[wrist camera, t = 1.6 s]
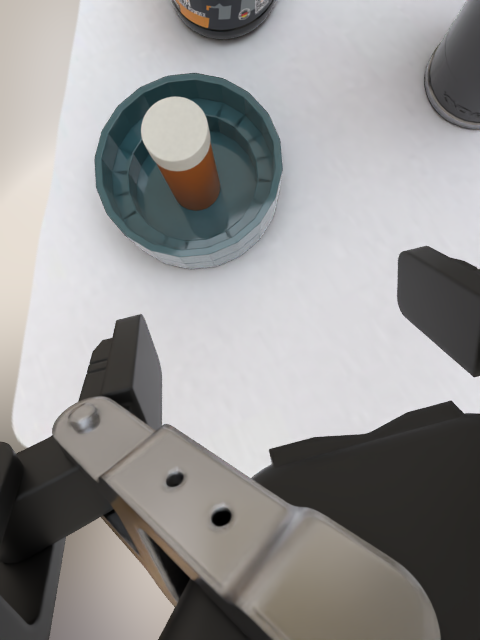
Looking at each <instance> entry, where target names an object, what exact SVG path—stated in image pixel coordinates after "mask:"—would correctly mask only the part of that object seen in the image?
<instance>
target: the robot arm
mask: <svg viewBox="0 0 480 640" xmlns="http://www.w3.org/2000/svg"><path fill="white" fill-rule="evenodd" d="M425 89H426V93H427V96H428V98H429V101H430V102H431V104H432V106H433V107H434V109H435V110H436V111H437V112H438V113H439V114H440V115H441V116H442V117H443V118H445V119H446V120H448V121H449V122H451V123H453V124H455V125H458V126H461V127H464V128H470V129H480V0H466V2H465V4H464V5H463V7H462V9H461V10H460V12H459V14H458V15H457V17H456V19H455V20H454V22H453V23H452V25H451V27H450V28H449V30H448V32H447V33H446V35H445V37H444V38H443V40H442V42H441V43H440V44H439V45H438V47H437V48H436V50H435V51H434V53H433V54H432V56H431V58H430V60H429V62H428V64H427V67H426V71H425ZM397 300H398V305H399V308H400V311H401V312H402V314H403V315H404V316H405V317H406V318H407V319H408V320H409V321H410V322H411V323H412V324H414V325H415V326H416V327H417V328H418V329H419V330H420V331H422V332H423V333H424V334H425V335H426V336H427V337H428V338H430V339H431V340H432V341H433V342H434V343H435V344H436V345H438V346H439V347H440V348H441V349H442V350H443V351H444V352H446V353H447V354H448V355H449V356H450V357H451V358H452V359H454V360H455V361H456V362H457V363H458V364H459V365H461V366H462V367H463V368H464V369H465V370H466V371H467V372H469V373H470V374H471V375H472V376H473V377H477V376H480V269H477V267H475V266H473V265H471V264H469V263H467V262H465V261H462V260H458V259H454V258H450V257H448V256H446V255H444V254H442V253H440V252H438V251H436V250H434V249H433V248H431V247H429V246H424V247H420V248H415V249H411V250H407V251H403V252H401V253H400V255H399V258H398V288H397ZM52 434H53V435H52V436H51V437H49V438H47V439H45V440H43V441H41V442H39V443H37V444H35V445H33V446H31V447H29V448H27V449H25V450H23V451H21V452H18V453H17V454H16V453H15V452H14V450H13V449H12V448H11V446H10V445H9V444H7V443H5V442H0V640H49V636H50V630H51V624H52V617H53V612H54V606H55V600H56V594H57V588H58V581H59V575H60V569H61V564H62V557H63V551H64V545H65V539H66V536H68V535H70V534H71V533H73V532H75V531H77V530H78V529H80V528H82V527H84V526H85V525H87V524H89V523H91V522H92V521H94V520H96V519H97V518H99V517H101V518H102V519H103V520H104V521H105V523H106V524H107V525H108V526H109V527H110V528H111V529H112V531H113V532H114V533H115V534H116V535H117V536H118V537H119V539H120V540H121V541H122V542H123V543H124V544H125V545H126V546H127V548H128V549H129V550H130V551H131V552H132V553H133V554H134V556H135V557H136V558H137V559H138V560H139V561H140V562H141V563H142V565H143V566H144V567H145V568H146V570H147V571H148V572H149V574H150V575H151V576H152V578H153V579H154V581H155V582H156V584H157V585H158V587H159V588H160V589H161V591H162V592H163V593H164V595H165V596H166V597H167V598H168V600H169V601H170V602H171V603H172V604H173V605H174V607H175V609H174V611H173V613H172V614H171V616H170V618H169V620H168V622H167V624H166V626H165V628H164V630H163V632H162V633H161V635H160V637H159V639H158V640H480V414H473V413H465V414H464V413H463V412H462V411H461V410H460V409H459V408H458V407H457V406H456V405H455V404H454V403H453V402H452V401H448V402H444V403H441V404H437V405H433V406H429V407H426V408H422V409H418V410H414V411H411V412H407V413H405V414H404V415H402V416H400V417H398V418H396V419H394V420H392V421H391V422H389V423H387V424H385V425H383V426H381V427H379V428H378V429H376V430H374V431H372V432H370V433H367V434H360V435H343V436H326V437H313V438H310V439H306V440H302V441H298V442H295V443H291V444H287V445H283V446H280V447H276V448H272V449H269V452H270V457H271V462H272V465H270V466H268V467H266V468H264V469H263V470H262V471H260V472H259V473H257V474H256V475H254V476H253V477H252V478H249V477H248V476H246V475H245V474H243V473H242V472H240V471H239V470H237V469H236V468H234V467H233V466H231V465H230V464H228V463H227V462H225V461H224V460H222V459H221V458H219V457H218V456H216V455H215V454H213V453H212V452H210V451H209V450H207V449H206V448H204V447H203V446H201V445H200V444H198V443H197V442H195V441H194V440H192V439H191V438H189V437H188V436H186V435H185V434H183V433H182V432H180V431H179V430H177V429H176V428H174V427H173V426H171V425H169V424H164V425H163V426H162V372H161V366H160V362H159V358H158V355H157V352H156V350H155V347H154V344H153V341H152V338H151V335H150V333H149V330H148V327H147V324H146V321H145V319H144V317H143V315H142V314H140V315H136V316H132V317H128V318H124V319H120V320H117V321H116V324H115V329H114V333H113V338H110V339H106V340H102V342H101V343H100V344H99V345H98V346H97V347H96V349H95V350H94V351H93V353H92V356H91V360H90V365H89V367H88V370H87V374H86V377H85V380H84V384H83V387H82V391H81V394H80V398H79V401H78V402H77V403H75V404H74V405H72V406H70V407H69V408H68V409H66V410H65V411H64V412H63V413H62V414H61V415H60V416H59V417H58V418H57V420H56V421H55V423H54V425H53V428H52Z"/></svg>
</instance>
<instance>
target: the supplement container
mask: <svg viewBox="0 0 480 640" xmlns="http://www.w3.org/2000/svg"><path fill="white" fill-rule="evenodd" d="M275 1H276V0H172V3H173V6H174V8H175V10H176V12H177V14H178V15H179V17H180V18H181V19H182V21H183V22H184V23H185V24H186V25H187V26H188V27H189V28H191V29H192V30H193V31H195V32H197V33H199V34H201V35H203V36H206V37H209V38H214V39H231V38H236V37H240V36H242V35H245V34H247V33H249V32H251V31H252V30H254V29H255V28H257V27H258V26H259V25H260V24H261V23H262V22H263V21H264V20H265V19H266V18H267V16H268V15H269V13H270V12H271V10H272V8H273V6H274V4H275Z"/></svg>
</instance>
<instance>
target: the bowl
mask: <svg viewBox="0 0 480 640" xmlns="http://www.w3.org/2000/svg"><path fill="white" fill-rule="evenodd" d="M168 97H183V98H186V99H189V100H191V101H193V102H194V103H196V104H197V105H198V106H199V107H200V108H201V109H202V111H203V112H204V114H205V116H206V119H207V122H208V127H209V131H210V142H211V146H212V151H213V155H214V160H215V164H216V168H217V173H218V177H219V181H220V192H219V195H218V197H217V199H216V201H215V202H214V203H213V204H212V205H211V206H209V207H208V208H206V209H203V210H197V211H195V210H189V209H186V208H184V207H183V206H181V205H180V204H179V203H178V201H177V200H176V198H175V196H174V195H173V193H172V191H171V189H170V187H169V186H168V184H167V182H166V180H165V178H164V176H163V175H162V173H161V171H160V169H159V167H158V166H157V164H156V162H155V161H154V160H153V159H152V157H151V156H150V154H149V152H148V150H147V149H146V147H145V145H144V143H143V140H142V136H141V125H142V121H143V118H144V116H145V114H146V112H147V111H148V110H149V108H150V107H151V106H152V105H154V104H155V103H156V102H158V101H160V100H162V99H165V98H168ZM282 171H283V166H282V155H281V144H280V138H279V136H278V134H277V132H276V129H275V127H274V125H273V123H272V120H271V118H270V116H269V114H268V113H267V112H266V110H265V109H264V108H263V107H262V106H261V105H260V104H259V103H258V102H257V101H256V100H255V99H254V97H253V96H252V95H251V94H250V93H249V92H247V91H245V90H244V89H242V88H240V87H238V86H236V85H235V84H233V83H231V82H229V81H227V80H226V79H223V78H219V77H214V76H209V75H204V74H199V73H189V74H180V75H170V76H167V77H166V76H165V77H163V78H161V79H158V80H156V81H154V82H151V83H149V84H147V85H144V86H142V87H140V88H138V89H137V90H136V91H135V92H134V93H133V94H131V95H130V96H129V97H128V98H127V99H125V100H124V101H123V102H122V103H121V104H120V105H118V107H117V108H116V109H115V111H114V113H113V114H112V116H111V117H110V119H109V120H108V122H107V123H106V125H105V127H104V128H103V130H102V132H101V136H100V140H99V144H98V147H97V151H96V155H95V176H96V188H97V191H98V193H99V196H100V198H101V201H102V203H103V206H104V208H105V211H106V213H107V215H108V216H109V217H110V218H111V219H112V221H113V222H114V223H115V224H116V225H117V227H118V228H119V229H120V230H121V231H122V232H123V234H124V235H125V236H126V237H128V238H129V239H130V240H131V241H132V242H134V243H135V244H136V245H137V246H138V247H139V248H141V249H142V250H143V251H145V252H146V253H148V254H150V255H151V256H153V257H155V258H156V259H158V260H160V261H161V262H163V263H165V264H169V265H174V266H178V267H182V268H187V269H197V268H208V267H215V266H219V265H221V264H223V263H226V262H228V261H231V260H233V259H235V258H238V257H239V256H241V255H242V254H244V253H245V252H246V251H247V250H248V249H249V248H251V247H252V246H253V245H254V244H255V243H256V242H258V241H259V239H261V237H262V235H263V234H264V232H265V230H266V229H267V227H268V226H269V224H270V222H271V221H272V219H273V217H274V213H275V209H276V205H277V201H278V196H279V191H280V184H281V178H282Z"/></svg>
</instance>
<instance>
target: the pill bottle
mask: <svg viewBox="0 0 480 640" xmlns="http://www.w3.org/2000/svg"><path fill="white" fill-rule="evenodd" d="M141 136H142V140H143V143H144V145H145V147H146V149H147V150H148V152H149V154H150V156H151V157H152V159H153V160H154V161H155V162H156V164H157V166H158V167H159V169H160V171H161V173H162V175H163V176H164V178H165V180H166V182H167V184H168V186H169V187H170V189H171V191H172V193H173V195H174V196H175V198H176V200H177V201H178V203H179V204H180V205H181V206H183V207H184V208H186V209H189V210H195V211H197V210H203V209H206V208H208V207H209V206H211V205H212V204H213V203H214V202H215V201H216V199H217V197H218V195H219V192H220V181H219V177H218V173H217V168H216V164H215V160H214V155H213V151H212V146H211V142H210V131H209V127H208V122H207V119H206V116H205V114H204V112H203V111H202V109H201V108H200V107H199V106H198V105H197V104H196V103H194V102H193V101H191V100H189V99H186V98H183V97H168V98H165V99H162V100H160V101H158V102H156V103H155V104H154V105H152V106H151V107H150V108H149V110H148V111H147V112H146V114H145V116H144V118H143V121H142V125H141Z"/></svg>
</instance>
